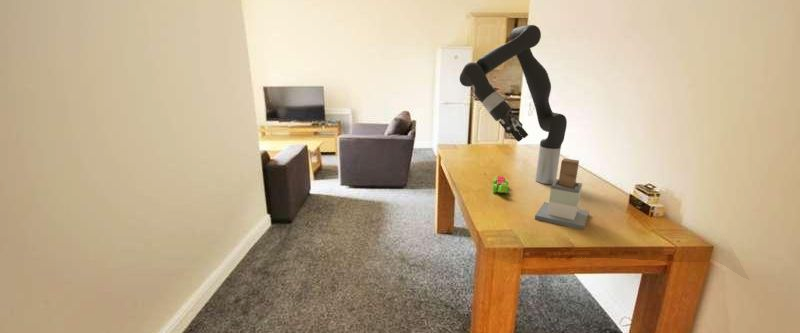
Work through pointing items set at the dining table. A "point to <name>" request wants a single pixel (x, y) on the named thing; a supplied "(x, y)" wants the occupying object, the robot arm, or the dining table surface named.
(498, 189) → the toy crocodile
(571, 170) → the walnut brick
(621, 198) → the dining table surface
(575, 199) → the tower
